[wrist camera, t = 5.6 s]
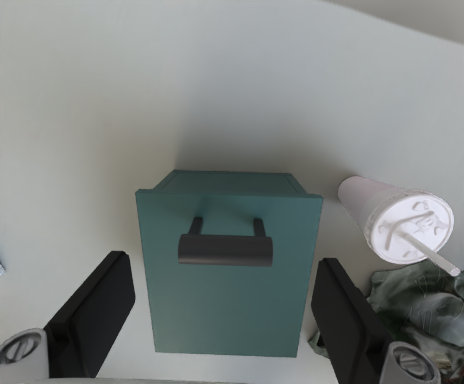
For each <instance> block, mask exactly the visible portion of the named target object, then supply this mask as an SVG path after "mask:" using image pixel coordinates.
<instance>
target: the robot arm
mask: <svg viewBox="0 0 464 384" xmlns="http://www.w3.org/2000/svg"><path fill="white" fill-rule="evenodd" d="M134 303H135V291H134V284H133V278H132V272H131V266H130V259H129V255H128V254H126V253H125V252H124V251H111V252H110V253H109V254H108V255H107V256H106V257H105V259H104V260H103V261H102V262H101V263H100V264H99V265H98V266H97V268H96V269H95V270H94V271H93V272H92V273H91V274H90V276H89V277H88V278H87V279H86V280H85V281H84V282H83V284H82V285H81V286H80V287H79V288H78V289H77V290H76V291H75V293H74V294H73V295H72V296H71V297H70V298H69V299H68V301H67V302H66V303H65V304H64V305H63V306H62V307H61V309H60V310H59V311H58V312H57V313H56V314H55V315H54V316H53V318H52V319H51V320H50V321H49V322H48V324H47V325H46V326H45V327H44V328H43V329H40V328H33V329H28V330H25V331H22V332H20V333H18V334H16V335H14V336H12V337H11V338H9V339H8V340H6V341H5V342H4V343H3V344H1V345H0V384H248V383H224V382H199V381H173V380H143V379H113V378H95V377H96V376H97V374H98V372H99V370H100V368H101V366H102V364H103V363H104V361H105V359H106V357H107V355H108V353H109V351H110V349H111V347H112V345H113V343H114V342H115V340H116V338H117V336H118V334H119V332H120V330H121V328H122V326H123V324H124V323H125V321H126V319H127V317H128V315H129V313H130V311H131V309H132V307H133V305H134ZM311 308H312V312H313V315H314V317H315V320H316V323H317V326H318V328H319V331H320V334H321V336H322V339H323V342H324V345H325V347H326V350H327V353H328V355H329V358H330V361H331V364H332V366H333V369H334V372H335V374H336V377H337V380H338V383H339V384H449V383H447V382H446V381H444V380H442V379H441V375H440V371H439V369H438V368H437V366H436V364H435V363H434V362H433V361H432V359H431V358H430V357H429V356H427V355H426V354H425V353H424V352H423V351H421V350H420V349H418V348H417V347H415V346H413V345H410V344H408V343H405V342H395V341H394V340H393V338H392V337H391V335H390V334H389V332H388V331H387V329H386V328H385V326H384V325H383V323H382V322H381V320H380V319H379V317H378V316H377V314H376V313H375V311H374V310H373V308H372V307H371V305H370V304H369V302H368V301H367V299H366V298H365V297H364V295H363V294H362V292H361V291H360V290H359V289H358V288H357V287H355V285H354V284H353V282H352V281H351V279H350V278H349V276H348V275H347V273H346V271H345V270H344V268H343V267H342V265H341V264H340V262H339V261H338V260H337V259H336V258H323V260H322V261H319V264H318V270H317V275H316V280H315V286H314V291H313V296H312V302H311Z"/></svg>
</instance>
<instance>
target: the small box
mask: <svg viewBox="0 0 464 384" xmlns="http://www.w3.org/2000/svg"><path fill="white" fill-rule="evenodd" d="M4 273H5V270H4V269H3V267H2V266H1V264H0V276H2V275H3V274H4Z"/></svg>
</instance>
